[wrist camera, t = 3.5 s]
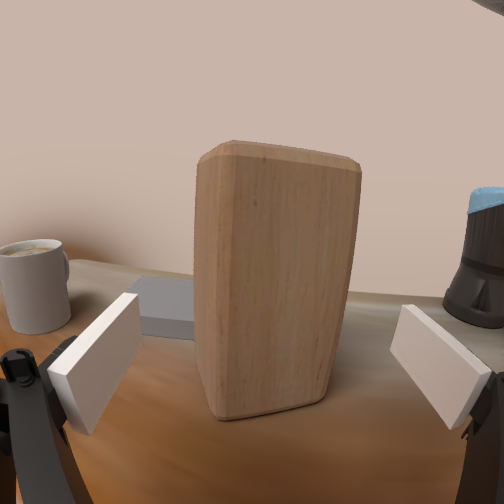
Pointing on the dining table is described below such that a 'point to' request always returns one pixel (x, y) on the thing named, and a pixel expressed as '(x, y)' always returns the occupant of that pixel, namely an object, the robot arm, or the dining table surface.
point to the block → (271, 273)
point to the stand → (165, 306)
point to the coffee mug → (35, 285)
